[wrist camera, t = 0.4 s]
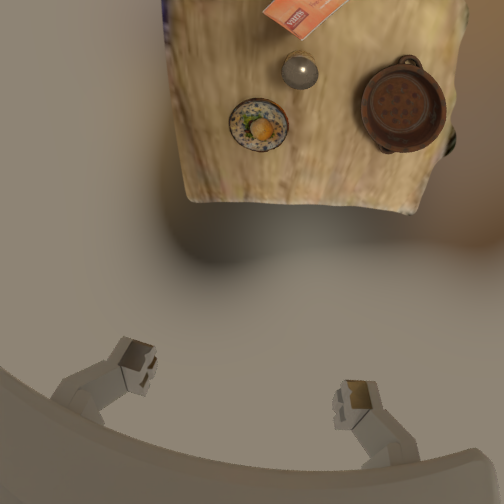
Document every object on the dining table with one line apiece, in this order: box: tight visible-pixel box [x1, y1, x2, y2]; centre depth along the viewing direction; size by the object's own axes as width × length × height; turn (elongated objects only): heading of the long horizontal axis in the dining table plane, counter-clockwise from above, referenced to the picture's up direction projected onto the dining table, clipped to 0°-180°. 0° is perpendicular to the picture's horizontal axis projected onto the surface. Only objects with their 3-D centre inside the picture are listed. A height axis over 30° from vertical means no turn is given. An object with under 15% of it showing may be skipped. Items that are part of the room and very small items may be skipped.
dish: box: [361, 55, 447, 154], centre depth 41 cm, size 18×22×5 cm
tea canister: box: [282, 51, 318, 90], centre depth 38 cm, size 6×6×9 cm
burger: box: [229, 98, 289, 152], centre depth 50 cm, size 12×12×8 cm
